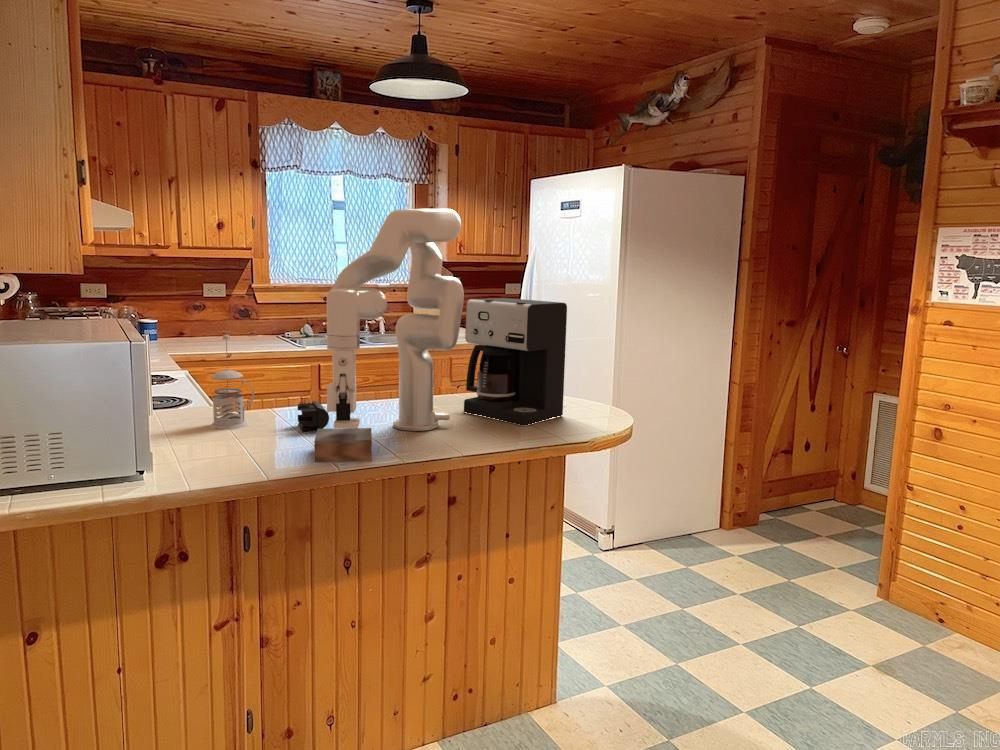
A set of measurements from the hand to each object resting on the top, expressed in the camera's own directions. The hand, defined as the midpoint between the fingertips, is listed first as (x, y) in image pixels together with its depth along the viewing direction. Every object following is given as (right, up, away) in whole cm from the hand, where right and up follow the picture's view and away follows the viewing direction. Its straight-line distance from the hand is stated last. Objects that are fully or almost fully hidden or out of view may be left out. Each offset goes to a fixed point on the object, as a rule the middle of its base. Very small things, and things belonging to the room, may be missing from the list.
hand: (343, 416), depth 179 cm
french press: (-37, -4, +28) cm, 46 cm away
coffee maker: (+39, -2, +52) cm, 65 cm away
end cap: (-14, -5, +27) cm, 31 cm away
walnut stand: (0, -9, +2) cm, 9 cm away
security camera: (0, -2, 0) cm, 2 cm away
